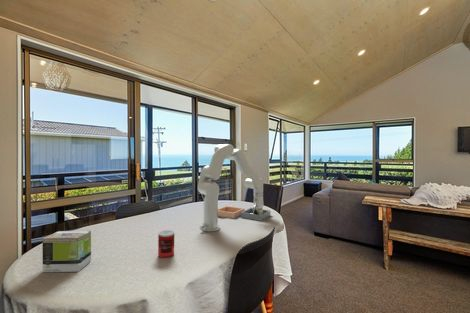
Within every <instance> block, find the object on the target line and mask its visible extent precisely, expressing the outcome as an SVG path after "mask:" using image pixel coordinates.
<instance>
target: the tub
mask: <svg viewBox="0 0 470 313" xmlns="http://www.w3.org/2000/svg"><path fill="white" fill-rule="evenodd" d="M245 210H246V209H245V208H242V207H237V206H235V207H234V206H230V205H229V206H228V205H225V206H222V207H218V218H222V217H225V218H224V219H227V218H228V219H236V218H238V217H240V214H241V212H243V211H245Z"/></svg>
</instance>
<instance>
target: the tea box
mask: <svg viewBox="0 0 470 313" xmlns="http://www.w3.org/2000/svg"><path fill="white" fill-rule="evenodd" d="M91 262H92V231H91V230H63V231H62V230H58V231H56V232H54V233H52V234H50V235H47V236H45V237H43V238H42V273H68V272H69V273H70V272H72V273H73V272H80V271H81V270H83V269H84V268H85V267H86V266H87V265H89V264H90V263H91Z"/></svg>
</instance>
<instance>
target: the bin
mask: <svg viewBox="0 0 470 313" xmlns="http://www.w3.org/2000/svg"><path fill="white" fill-rule="evenodd" d="M250 213H253V207H249V208H247V209H245V211H243V212H241V214H240V216H239V217H240V218H241V219H247V220H252V219H253V220H252V221H259V222H263V221H264V220H266V219H268V218H269V217H270V216H271V210H269V209H263V214H262V215H257V214H250Z"/></svg>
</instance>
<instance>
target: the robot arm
mask: <svg viewBox="0 0 470 313" xmlns="http://www.w3.org/2000/svg"><path fill="white" fill-rule="evenodd" d="M213 151H214V152H213V154H212V157H211V160H210V163H209V165H204V166H203V168H202V169H201V171H200V174H199V177H198V178H199V179H198V182H197V191H198V192H199V193H200V194H201V195H204V199H203V222H202V225H200V226H199V229H200V230H202V231H203V232H217V231H219V230H220V228H221V226H220V225H218V223H219V220H218V218H219V217H218V209H219V196H220V195H219V194H220V186H219V185H218V183H216V182H214V181H217V180H219V179H220V178H221V174H222V169H223V166H224V165H223V164H224V162H225V160H226V159H227V160H229V161H234V162H235V165H236V167H237V169H238V171H239V172H240V173H242V174H243V175H245V176H247V177H248V178H246V179H245V180H244V182H243V185H244V186H245V188H248V189H252V190H253V203H252V204H253V207H252V208H253V210H254V214H257V215H258V209H263V208H264V179H263V178H260V176H259V175H258V172H256V171H255V170H254V169H253V168H252V167H251V166H250V164H249V162H248V160H247V158H246V155H245V153H244V151H243V149H240V148H235V147H234V145H232V144H231V143H223V144H222V143H220V144H217V145H216V146H215V147H214V150H213ZM256 209H257V210H256Z"/></svg>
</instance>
